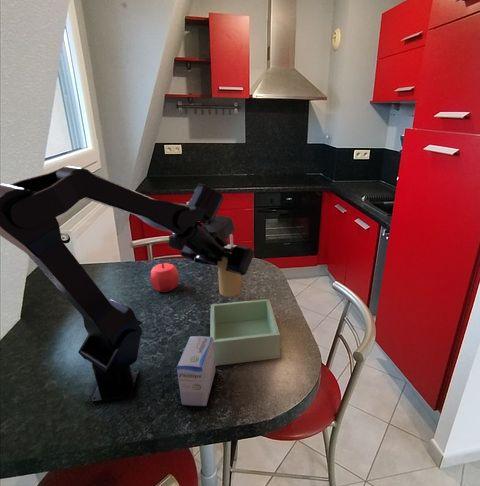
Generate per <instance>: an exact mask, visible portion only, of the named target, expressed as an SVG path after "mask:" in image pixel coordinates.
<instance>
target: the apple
mask: <svg viewBox="0 0 480 486" xmlns="http://www.w3.org/2000/svg"><path fill="white" fill-rule="evenodd" d="M150 283H151V285H152V288H153V290H155V291H159V292H161V293H166V292H167V293H168V292H170V291H172V290H175V289H176V288H177V287H178V284H179V272H178V268H177V267H176V266H175V265H174V264H173V263H169V262H161V263H158V264H156V265H155V266H153V267H152V269H151V270H150Z"/></svg>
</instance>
